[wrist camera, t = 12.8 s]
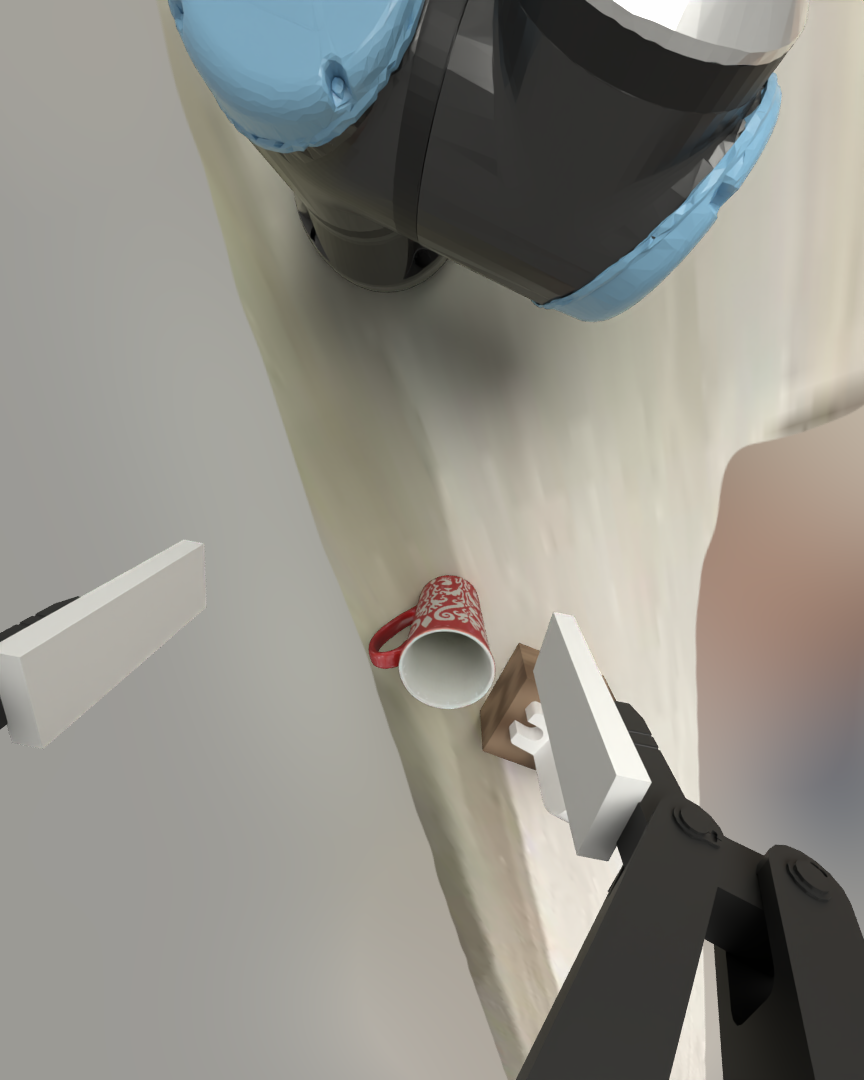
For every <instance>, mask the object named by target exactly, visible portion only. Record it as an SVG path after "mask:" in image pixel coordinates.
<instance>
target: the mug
mask: <svg viewBox="0 0 864 1080" xmlns="http://www.w3.org/2000/svg"><path fill="white" fill-rule="evenodd" d="M411 624H412V626H411V629H410V632H409V636H408V639H407V640H406V641H405V642H404V643H403V644H402V645H401V646H400V647H398V648H396V649H394V650H391V651H388V652H378V651H379V649H380V648H381V647H382V646H383V644H385V643H386V642H387V641H388V640H389V639H390V638H392V637H393V636H394V635H396V634H397V633H398V632H400V631H401V630H403V629H404V628H406V627H407V626H409V625H411ZM369 655H370V659H371V661H372V663H373V665H375V666H376V667H379V668H383V669H388V668H394V667H397V666H399V674H400V677H401V680H402V683H403V684H404V686H405V688H406V689H407V690H408V692H409V693H410V694H411V695H412V696H413V697H415V698H416V699H417V700H419V701H420V702H422V703H424V704H426V705H429V706H432V707H436V708H441V709H456V708H462V707H465V706H468V705H471V704H473V703H475V702H476V701H478V700H480V699H481V698H482V697H483V696H484V695H485V694H486V693H487V692H488V690H489V689H490V687H491V685H492V683H493V680H494V676H495V663H494V659H493V656H492V654H491V652H490V649H489V645H488V640H487V635H486V630H485V627H484V622H483V618H482V613H481V609H480V604H479V599H478V595H477V592H476V590H475V589H474V587H473V586H472V585H471V584H470V583H469V582H468V581H466V580H465V579H463V578H460V577H457V576H449V575H446V576H441V577H437V578H435V579H433V580H431V581H430V582H429V583H428V584H427V585H426V586H425V587H424V589H423V590H422V592H421V595H420V598H419V602H418V604H417V605H416V606H415V607H413V608H411V609H410V610H408V611H406V612H404V613H402V614H400V615H399V616H397V617H396V618H394V619H393V620H391V621H390V622H388V623H387V624H386V625H384V626H383V627H382V628H381V629H380V630H378V631H377V633H376V634H375V635H374V636H373V638H372V639H371V641H370V644H369Z"/></svg>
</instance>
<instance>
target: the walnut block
mask: <svg viewBox="0 0 864 1080" xmlns="http://www.w3.org/2000/svg"><path fill="white" fill-rule="evenodd" d="M539 653H540V651H539V650H536V649H533V648H531V647H528V646H526V645H523V644H520V643H519V644H518V646H517V647H516V649H515V651H514V653H513V654H512V656H511V658H510V660H509V661H508V663H507V665H506V667H505V668H504V670H503V672H502V674H501V675H500V677H499V679H498V680H497V682H496V684H495V686H494V687H493V689H492V691H491V693H490V694H489V696H488V698H487V700H486V701H485V703H484V705H483V707H482V708H481V710H480V714H481V731H482V747H483V751H484V752H487V753H490V754H493V755H495V756H498V757H501V758H504V759H506V760H509V761H512V762H515V763H517V764H520V765H523V766H526V767H528V768H531V769H534V770H536V766H535V761H534V756H533V755H532V754H530V753H528V752H526V751H525V750H523V749H521V748H519V747H517V746H515V745H513V744H512V743H511V738H510V731H509V726H510V725H511V724H512V723H513V722H514V721H515V720H516V721H518V722H520V723H521V724H523V725H525V726H527V727H530V728H533V727H536V726H535V725H533V724H531V723H530V722H528V721H527V716H526V711H525V709H526V707H527V706H528V705H529V704H530V703H531V702H534V701H536V702H539V703H541V702H540V698H539V694H538V689H537V685H536V681H535V677H534V673H533V670H534V667H535V664H536V661H537V658H538V656H539ZM602 677H603V679H604V682H605V684H606V686H607V688H608V690H609V692H610V694H611V696H612V699H613V701H616V699H615V698H614V696H613V694H612V692H611V690H610V688H609V686H608V684H607V682H606V680H605V678H604V676H603V675H602Z"/></svg>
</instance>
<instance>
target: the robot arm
mask: <svg viewBox="0 0 864 1080" xmlns="http://www.w3.org/2000/svg"><path fill="white" fill-rule="evenodd" d="M809 1H810V0H168V3H169V7H170V10H171V13H172V16H173V18H174V19H175V23H176V27H177V30H178V32H179V34H180V36H181V38H182V41H183V43H184V45H185V48H186V50H187V52H188V54H189V56H190V58H191V60H192V62H193V64H194V66H195V67H196V69H197V70H198V72H199V74H200V75H201V77H202V78H203V80H204V81H205V83H206V84H207V86H208V87H209V89H210V91H211V92H212V94H213V95H214V97H215V99H216V101H217V102H218V104H219V106H220V108H221V110H222V111H223V112H224V113H225V114H226V116H227V118H228V119H229V121H230V122H231V123H232V124H234V126H235V128H236V129H237V130H238V132H240V133H241V134H243V135H244V136H246V137H247V138H248V139H249V140H250V142H251V143H252V144H253V145H254V146H255V147H256V149H257V150H258V151H259V152H260V153H261V154H262V155H263V157H264V158H265V159H266V160H267V161H268V162H269V164H270V165H271V166H272V167H273V168H274V169H275V171H276V172H277V173H278V174H279V175H280V176H281V178H282V179H283V180H284V181H285V182H286V183H287V185H288V186H289V187H290V188H291V189H292V190H293V192H294V196H295V201H296V206H297V210H298V213H299V216H300V219H301V221H302V224H303V226H304V229H305V231H306V233H307V235H308V237H309V239H310V240H311V242H312V244H313V245H314V247H315V248H316V250H317V251H318V252H319V254H320V255H321V256H322V257H323V259H324V260H325V261H326V262H327V263H328V264H329V265H330V266H331V267H332V268H333V269H334V270H335V271H336V272H338V273H339V274H340V275H341V276H342V277H344V278H345V279H347V280H348V281H350V282H352V283H353V284H355V285H357V286H360V287H362V288H365V289H368V290H372V291H378V292H395V291H401V290H405V289H408V288H411V287H413V286H416V285H418V284H420V283H421V282H423V281H425V280H426V279H428V278H429V277H430V276H432V275H433V274H434V273H435V272H436V271H437V270H438V269H439V268H440V267H441V266H442V265H443V264H444V263H445V261H446V260H447V259H450V260H452V261H454V262H456V263H458V264H460V265H462V266H464V267H466V268H468V269H470V270H472V271H474V272H476V273H478V274H480V275H482V276H484V277H486V278H488V279H490V280H492V281H494V282H497V283H499V284H501V285H503V286H505V287H507V288H509V289H511V290H513V291H515V292H517V293H519V294H521V295H523V296H525V297H527V298H529V299H531V301H532V302H533V303H534V304H535V305H536V306H538V307H540V308H541V307H544V308H545V309H555V310H557V311H560V312H562V313H564V314H567V315H569V316H571V317H574V318H576V319H579V320H581V321H585V322H586V321H588V322H597V321H604V320H607V319H610V318H613V317H615V316H617V315H619V314H621V313H623V312H624V311H626V310H627V309H629V308H631V307H632V306H633V305H635V304H636V303H638V302H639V301H640V300H641V299H643V298H644V297H645V296H646V295H647V294H649V293H650V292H651V291H652V290H653V289H654V288H655V287H656V286H657V285H659V284H660V283H661V282H662V281H663V280H664V279H665V278H666V277H667V276H668V275H669V274H670V273H671V272H672V271H673V270H674V269H675V268H676V267H677V266H678V265H679V264H680V263H681V261H682V260H683V259H684V258H685V257H686V256H687V255H688V254H689V253H690V251H691V250H692V249H693V248H694V247H695V246H696V245H697V243H698V242H699V241H700V240H701V239H702V238H703V236H704V235H705V234H706V233H707V231H708V230H709V229H710V228H711V226H712V225H713V223H714V222H715V221H716V219H717V212H718V210H719V208H720V207H721V206H722V205H723V204H724V203H725V202H726V201H727V200H728V199H729V198H730V197H731V196H732V195H733V194H734V193H735V192H736V191H737V190H738V189H739V188H740V186H741V185H742V183H743V182H744V180H745V179H746V177H747V176H748V174H749V173H750V171H751V170H752V168H753V167H754V165H755V164H756V162H757V160H758V158H759V157H760V155H761V153H762V151H763V150H764V148H765V146H766V144H767V142H768V140H769V138H770V136H771V134H772V131H773V129H774V127H775V124H776V122H777V119H778V115H779V110H780V104H781V95H782V93H781V89H780V86H779V85H778V83H777V75H776V74H775V73H773V71H774V70H775V69H776V67H777V66H778V64H779V63H780V62H781V60H782V59H783V58H784V56H785V55H786V54H787V52H788V51H789V50H790V49H791V47H792V46H793V44H794V43H795V41H796V40H797V38H798V37H799V36H800V34H801V33H802V31H803V30H804V27H805V24H806V21H807V16H808V8H809ZM205 608H206V579H205V552H204V543H199V542H194V541H189V540H182V541H180V542H179V543H177V544H175V545H173V546H171V547H170V548H168V549H166V550H164V551H163V552H161V553H159V554H157V555H155V556H154V557H152V558H150V559H148V560H146V561H145V562H143V563H141V564H139V565H138V566H136V567H134V568H132V569H130V570H129V571H127V572H125V573H123V574H121V575H120V576H118V577H116V578H114V579H112V580H111V581H109V582H107V583H105V584H104V585H102V586H100V587H98V588H96V589H94V590H93V591H91V592H89V593H87V594H86V595H84V596H82V597H78V596H77V597H74V598H71V599H68V600H65V601H62V602H59V603H56V604H53V605H51V606H50V607H48V608H46V609H44V610H42V611H40V612H38V613H37V614H36V615H35V616H31V617H29V618H27V619H25V620H24V621H22V622H20V624H19V625H14V626H12V627H11V628H9V629H7V630H5V631H3V632H1V633H0V729H1V728H3V727H4V726H5V725H7V727H8V731H9V734H10V737H11V741H12V743H16V744H20V745H25V746H30V747H35V748H40V749H43V748H45V747H46V746H47V745H48V744H49V743H50V742H51V741H53V740H54V739H55V738H56V737H57V736H59V735H60V734H61V733H62V732H63V731H64V730H65V729H66V728H68V727H69V726H70V725H71V724H72V723H74V722H75V721H76V720H77V719H78V718H79V717H80V716H81V715H83V714H84V713H85V712H86V711H87V710H88V709H89V708H91V707H92V706H93V705H94V704H95V703H96V702H98V701H99V700H100V699H101V698H102V697H103V696H105V695H106V694H107V693H108V692H109V691H110V690H111V689H113V688H114V687H115V686H116V685H117V684H118V683H120V682H121V681H122V680H123V679H124V678H125V677H126V676H127V675H129V674H130V673H131V672H132V671H133V670H135V669H136V668H137V667H138V666H139V665H140V664H141V663H143V662H144V661H145V660H146V659H147V658H148V657H149V656H150V655H152V654H153V653H154V652H155V651H156V650H157V649H159V648H160V647H161V646H162V645H163V644H164V643H166V642H167V641H168V640H169V639H170V638H171V637H173V636H174V635H175V634H176V633H177V632H178V631H179V630H181V629H182V628H183V627H184V626H185V625H186V624H187V623H189V622H190V621H191V620H192V619H193V618H194V617H195V616H197V615H198V614H199V613H200V612H201V611H202V610H204V609H205ZM533 673H534V677H535V681H536V685H537V689H538V694H539V698H540V702H541V706H542V711H543V715H544V719H545V723H546V727H547V732H548V736H549V740H550V744H551V749H552V753H553V757H554V761H555V765H556V770H557V774H558V778H559V782H560V786H561V791H562V795H563V799H564V803H565V808H566V812H567V816H568V820H569V824H570V829H571V833H572V837H573V841H574V846H575V850H576V854H577V855H578V856H583V857H588V858H594V859H599V860H604V861H609V859H610V857H611V855H612V854H613V852H614V850H615V848H616V846H617V847H618V850H619V853H620V856H621V859H622V862H623V866H622V868H621V869H620V871H619V873H618V874H617V876H616V878H615V880H614V881H613V883H612V885H611V887H610V888H609V890H608V892H609V893H608V895H607V897H606V899H605V901H604V903H603V905H602V907H601V909H600V911H599V913H598V915H597V917H596V919H595V921H594V923H593V925H592V927H591V929H590V931H589V933H588V935H587V937H586V939H585V941H584V943H583V945H582V947H581V949H580V952H579V954H578V956H577V958H576V960H575V962H574V964H573V966H572V968H571V970H570V972H569V974H568V976H567V978H566V980H565V982H564V984H563V986H562V988H561V990H560V992H559V994H558V996H557V998H556V1000H555V1002H554V1004H553V1006H552V1008H551V1010H550V1012H549V1014H548V1016H547V1018H546V1020H545V1022H544V1024H543V1026H542V1028H541V1030H540V1032H539V1034H538V1036H537V1038H536V1040H535V1042H534V1044H533V1046H532V1048H531V1050H530V1052H529V1054H528V1056H527V1058H526V1060H525V1062H524V1064H523V1066H522V1068H521V1071H520V1073H519V1075H518V1077H517V1079H516V1080H669V1077H670V1073H671V1069H672V1066H673V1062H674V1058H675V1054H676V1050H677V1046H678V1042H679V1038H680V1034H681V1030H682V1026H683V1022H684V1018H685V1014H686V1010H687V1006H688V1002H689V998H690V994H691V990H692V986H693V982H694V978H695V974H696V970H697V966H698V962H699V958H700V954H701V950H702V946H703V942H704V939H706V940H707V941H709V942H711V943H713V944H714V950H715V951H714V953H715V967H716V981H717V996H718V1009H719V1023H720V1038H721V1053H722V1067H723V1080H864V939H863V936H862V933H861V930H860V928H859V925H858V922H857V919H856V917H855V914H854V911H853V908H852V905H851V903H850V901H849V899H848V897H847V896H846V894H845V892H844V890H843V889H842V887H841V886H840V885H839V884H838V883H837V882H836V881H835V879H834V878H833V877H832V876H831V874H830V873H828V872H827V871H826V870H825V869H824V868H823V867H822V866H820V865H819V864H818V863H817V862H816V861H814V860H813V859H812V858H810V857H808V856H807V855H805V854H804V853H802V852H801V851H798V850H796V849H794V848H791V847H789V846H786V845H775V846H773V847H772V848H770V849H769V850H768V851H767V853H766V854H765V855H761V854H759V853H757V852H755V851H753V850H751V849H749V848H747V847H745V846H743V845H741V844H738V843H736V842H734V841H732V840H730V839H728V838H727V837H725V836H724V835H723V833H722V831H721V829H720V827H719V826H718V825H717V823H716V822H715V821H714V820H713V819H712V817H711V816H710V815H709V814H708V813H706V812H705V811H704V810H703V809H701V807H699V806H698V805H696V804H695V803H693V802H691V801H689V800H688V799H686V798H685V796H684V794H683V792H682V791H681V789H680V787H679V785H678V783H677V781H676V779H675V777H674V776H673V774H672V772H671V770H670V768H669V766H668V764H667V762H666V760H665V759H664V757H663V755H662V753H661V751H660V750H658V745H657V744H656V742H655V740H654V738H653V737H651V732H650V730H649V728H648V727H647V725H646V723H645V721H644V719H643V718H642V717H641V716H640V715H639V714H638V713H637V711H636V710H635V709H634V708H633V707H632V706H631V705H630V704H628V703H623V702H618V701H613V699H612V696H611V694H610V692H609V690H608V688H607V686H606V684H605V682H604V679H603V677H602V675H601V673H600V671H599V669H598V667H597V664H596V662H595V660H594V658H593V656H592V654H591V652H590V649H589V647H588V645H587V643H586V641H585V639H584V637H583V634H582V632H581V630H580V628H579V626H578V624H577V622H576V619H575V617H574V616H572V615H567V614H562V613H556V612H553V614H552V617H551V620H550V623H549V626H548V629H547V632H546V635H545V638H544V641H543V644H542V647H541V650H540V653H539V656H538V658H537V661H536V664H535V667H534V670H533Z"/></svg>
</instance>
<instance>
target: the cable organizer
mask: <svg viewBox="0 0 864 1080" xmlns="http://www.w3.org/2000/svg"><path fill="white" fill-rule="evenodd" d="M525 711H526V716H527V721H528V722H530V723H531V724H533V725H535V726H536V727H533V728H530V727H527V726H525V725H523V724H521V723H520V722H518V721H516V720H515V721H514V722H513V723H512V724H511V725H510V726H509V731H510V738H511V743H512V744H513V745H515V746H517V747H519V748H521V749H523V750H525V751H526V752H528V753H530V754H532V755H533V756H534V761H535V766H536V771H537V775H538V780H539V785H540V790H541V795H542V800H543V803H544V806H545V808H546V810H547V811H548V812H549V813H551V814H552V815H554V816H556V817H558V818H560V819H562V820H564V821H566V822H568V823H569V820H568V816H567V812H566V808H565V803H564V799H563V795H562V791H561V786H560V782H559V778H558V774H557V770H556V765H555V761H554V757H553V753H552V749H551V744H550V740H549V736H548V732H547V727H546V723H545V719H544V715H543V711H542V706H541V703H539V702H536V701H534V702H531V703H530V704H529V705H528V706H527V707H526V709H525Z"/></svg>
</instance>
